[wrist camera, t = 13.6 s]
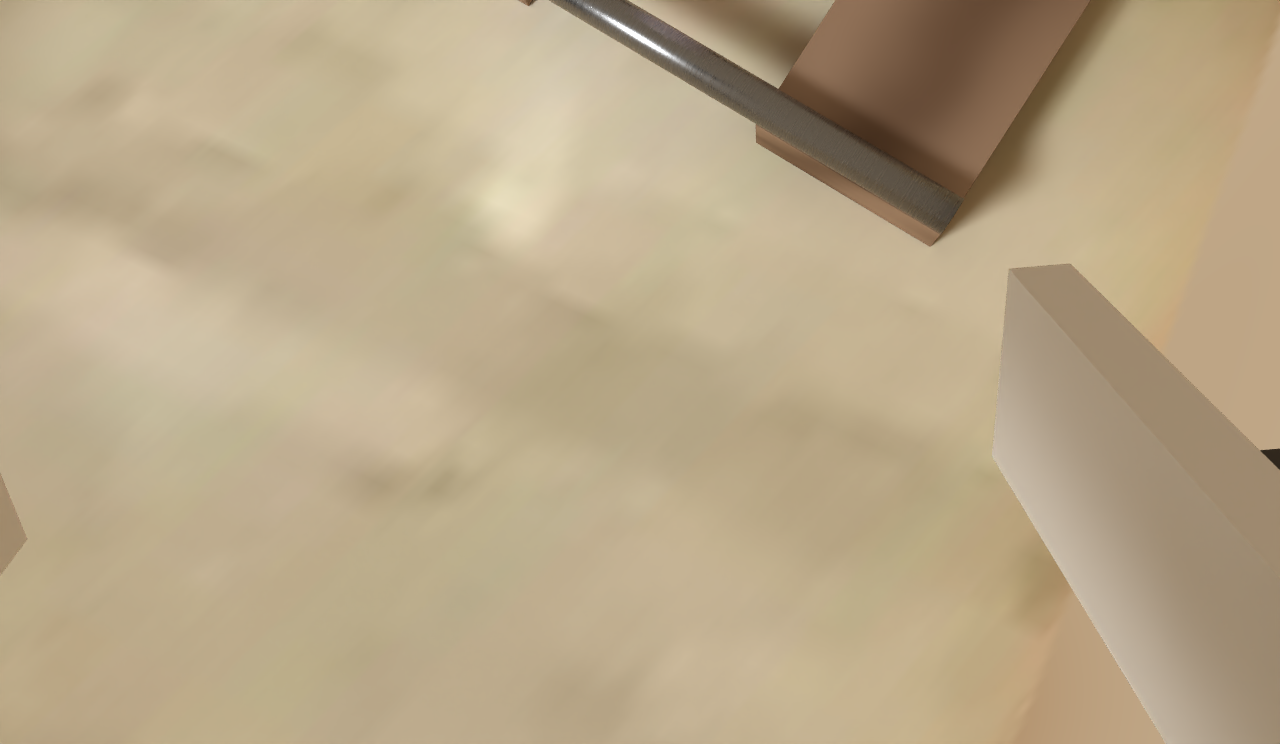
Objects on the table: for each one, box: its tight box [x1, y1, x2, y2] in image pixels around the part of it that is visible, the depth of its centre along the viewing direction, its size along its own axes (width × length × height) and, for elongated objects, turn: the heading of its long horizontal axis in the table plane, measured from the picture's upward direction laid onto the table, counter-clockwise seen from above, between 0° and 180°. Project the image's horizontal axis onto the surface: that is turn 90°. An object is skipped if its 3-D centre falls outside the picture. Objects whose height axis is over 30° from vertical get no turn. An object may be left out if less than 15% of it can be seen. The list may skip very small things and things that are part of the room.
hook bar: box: [549, 0, 964, 234], centre depth 34 cm, size 22×1×1 cm, turn 57°
